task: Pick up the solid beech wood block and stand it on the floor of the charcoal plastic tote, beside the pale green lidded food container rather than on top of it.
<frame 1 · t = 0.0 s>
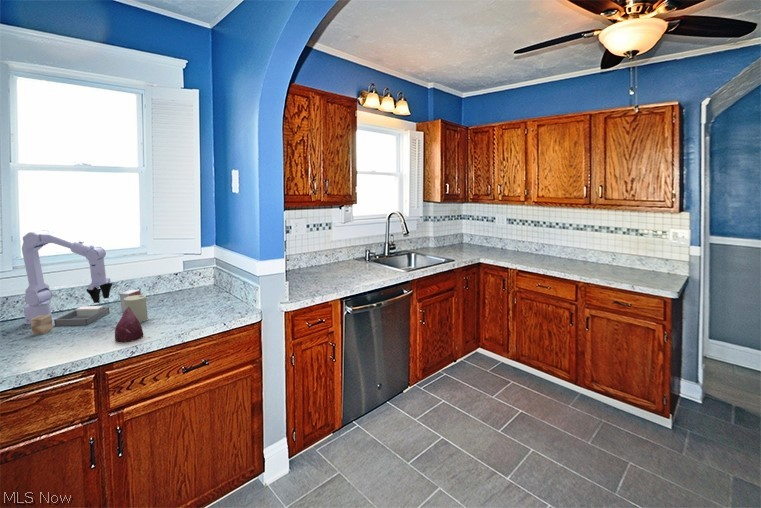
hand: (101, 300, 192), 10 cm above the worktop, tool pointing down, fingers open, 7 cm apart
tote: (83, 320, 194), on the worktop
wood block: (43, 332, 178), on the worktop
small box: (132, 311, 208), on the worktop
food container: (90, 315, 199), point 1 cm above the worktop, touching tote
vegetable: (129, 338, 172), on the worktop
can: (137, 320, 194), on the worktop
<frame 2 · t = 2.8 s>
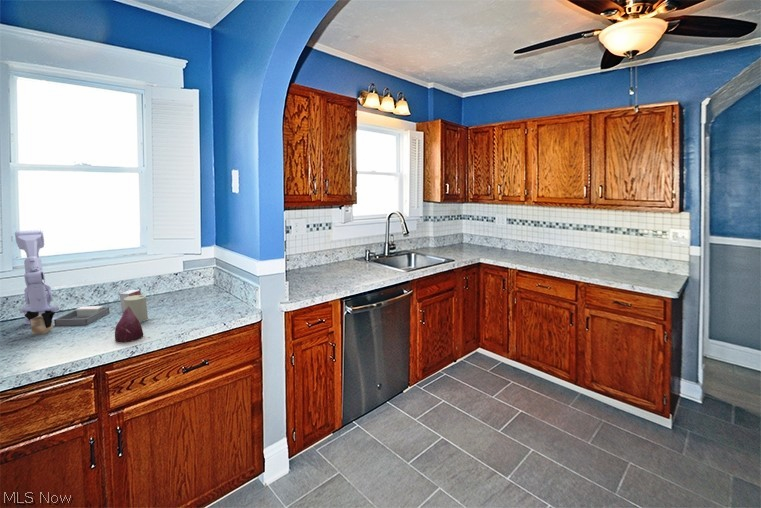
hand: (42, 327, 178), 2 cm above the worktop, tool pointing down, fingers closed on wood block, 4 cm apart
wood block: (43, 332, 178), on the worktop, touching gripper
everything else where it was.
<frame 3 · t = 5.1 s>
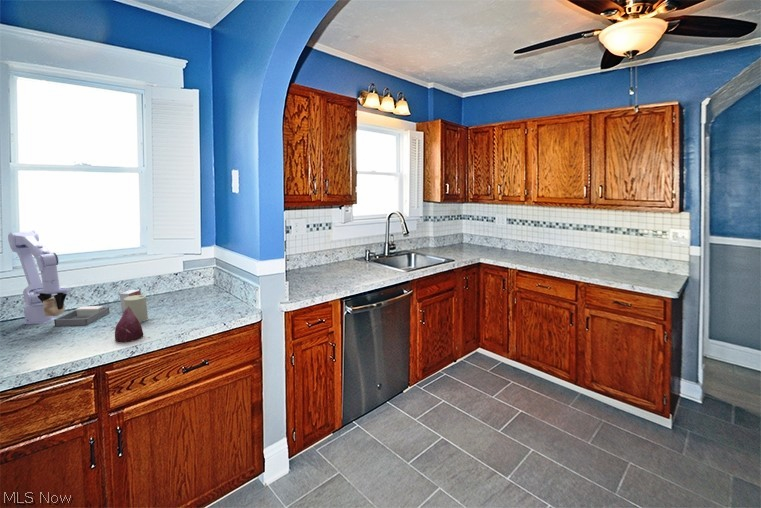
hand: (54, 309, 181), 9 cm above the worktop, tool pointing down, fingers closed on wood block, 4 cm apart
wood block: (55, 313, 182), point 7 cm above the worktop, touching gripper
everything else where it was.
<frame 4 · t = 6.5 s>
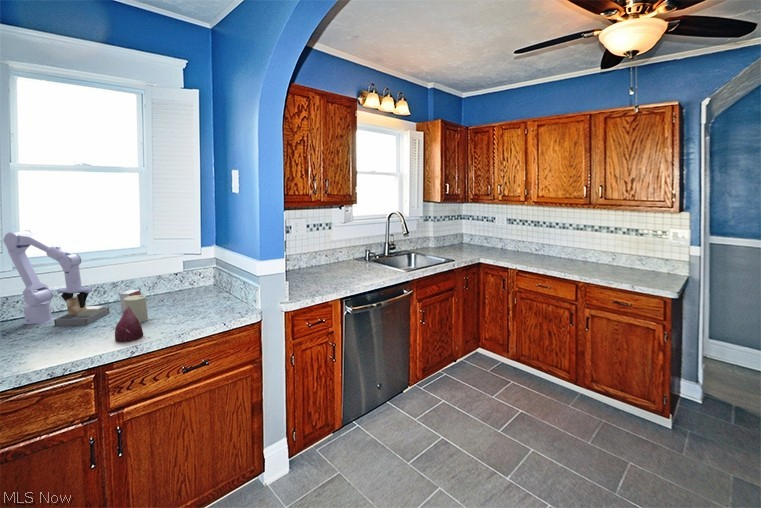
hand: (76, 307, 189), 7 cm above the worktop, tool pointing down, fingers closed on wood block, 4 cm apart
wood block: (77, 312, 189), point 5 cm above the worktop, touching gripper
everything else where it was.
when the fingers open (4 cm above the worktop, at t = 7.6 s): wood block drops 1 cm, resting on tote.
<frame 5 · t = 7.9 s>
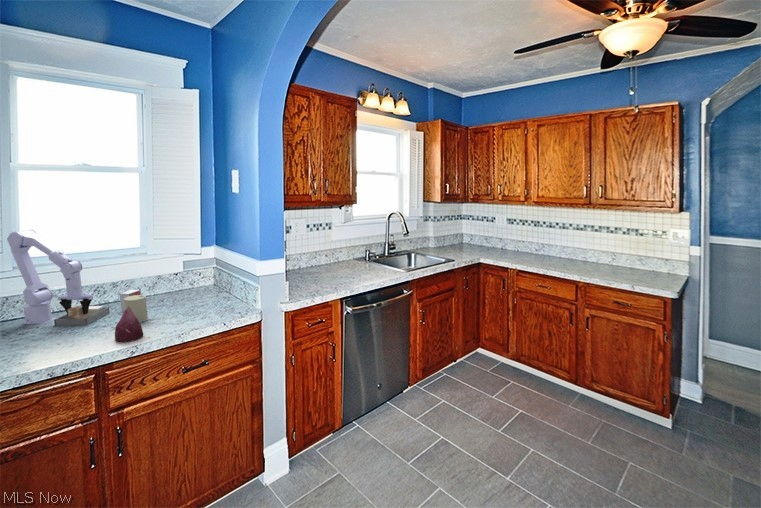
hand: (77, 314, 189), 4 cm above the worktop, tool pointing down, fingers open, 7 cm apart
wood block: (78, 321, 190), point 1 cm above the worktop, touching tote
everything else where it was.
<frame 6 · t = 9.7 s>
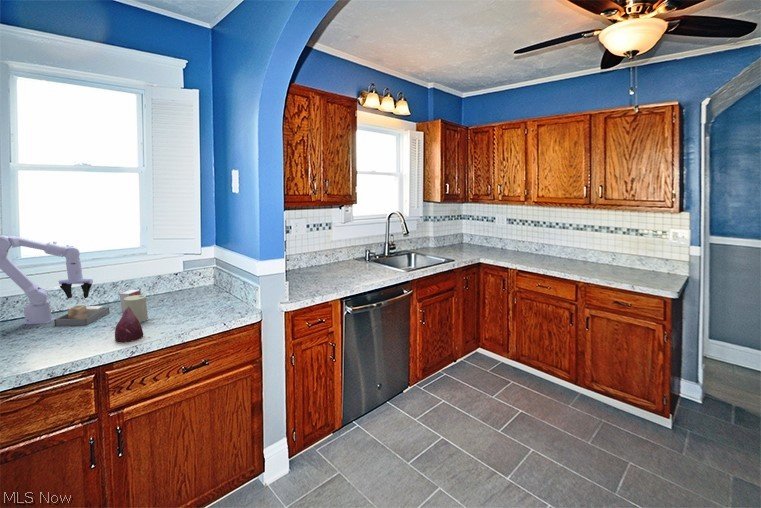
hand: (78, 297, 198), 9 cm above the worktop, tool pointing down, fingers open, 7 cm apart
nothing on the worktop moved.
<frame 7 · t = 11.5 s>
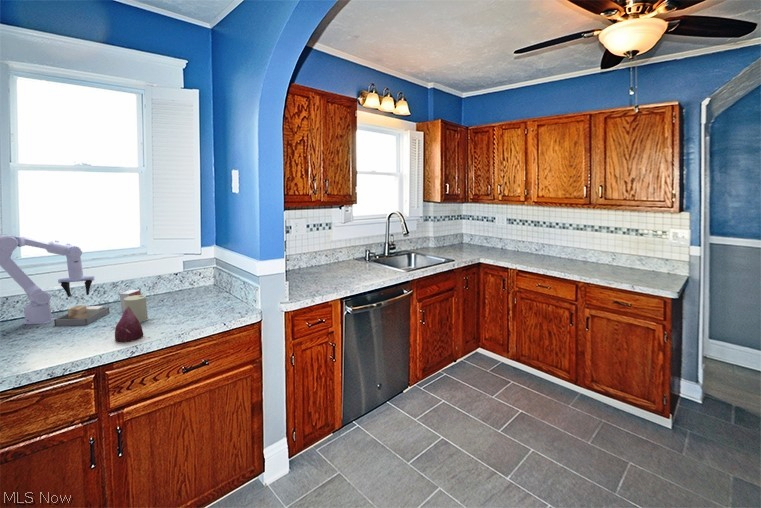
hand: (78, 295, 202), 9 cm above the worktop, tool pointing down, fingers open, 7 cm apart
nothing on the worktop moved.
at the end: wood block inside the target area on the tote (0.6 cm from its centre), point 0.6 cm above the tote's base; wood block tilted 0°; wood block touching tote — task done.
